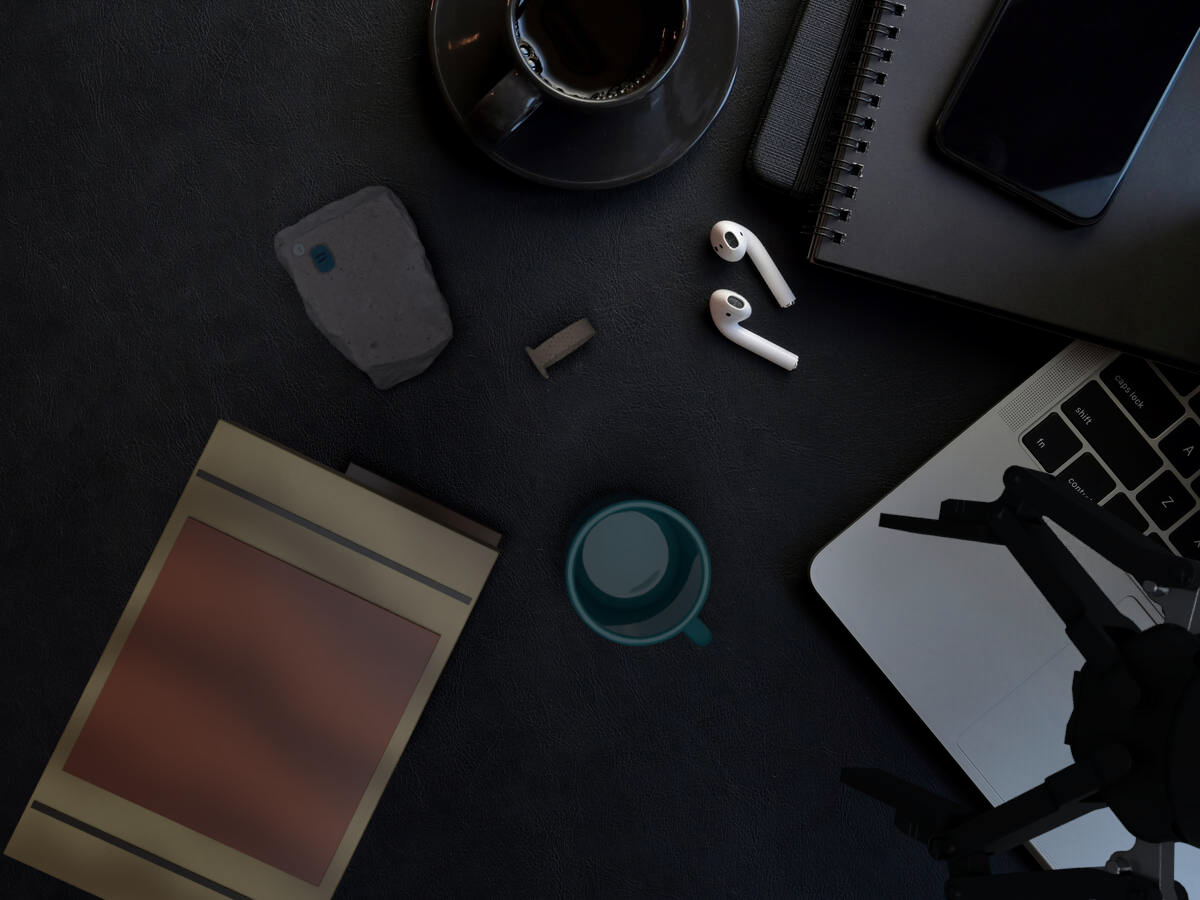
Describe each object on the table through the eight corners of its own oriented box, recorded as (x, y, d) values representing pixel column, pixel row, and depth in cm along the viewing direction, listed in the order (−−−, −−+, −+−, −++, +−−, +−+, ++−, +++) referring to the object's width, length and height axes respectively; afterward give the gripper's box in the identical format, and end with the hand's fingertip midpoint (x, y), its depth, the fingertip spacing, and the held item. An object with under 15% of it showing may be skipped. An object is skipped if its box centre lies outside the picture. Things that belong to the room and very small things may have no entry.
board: (299, 964, 41) (288, 986, 39) (22, 839, 40) (-1, 856, 38) (501, 549, 41) (499, 553, 39) (231, 419, 40) (217, 418, 39)
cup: (651, 669, 68) (671, 711, 57) (537, 552, 68) (534, 572, 57) (738, 582, 69) (775, 607, 58) (625, 466, 68) (640, 468, 57)
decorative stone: (277, 245, 67) (251, 226, 61) (394, 185, 68) (379, 160, 62) (365, 408, 68) (347, 404, 62) (481, 347, 68) (474, 337, 62)
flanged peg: (525, 351, 68) (523, 343, 63) (580, 315, 68) (582, 305, 63) (545, 382, 68) (545, 376, 63) (600, 346, 68) (603, 338, 63)
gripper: (1348, 1143, 33) (894, 879, 51) (1431, 439, 34) (960, 433, 53) (1229, 1184, 29) (788, 884, 48) (1327, 397, 30) (862, 406, 49)
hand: (877, 647), depth 50 cm, fingers open, 13 cm apart
